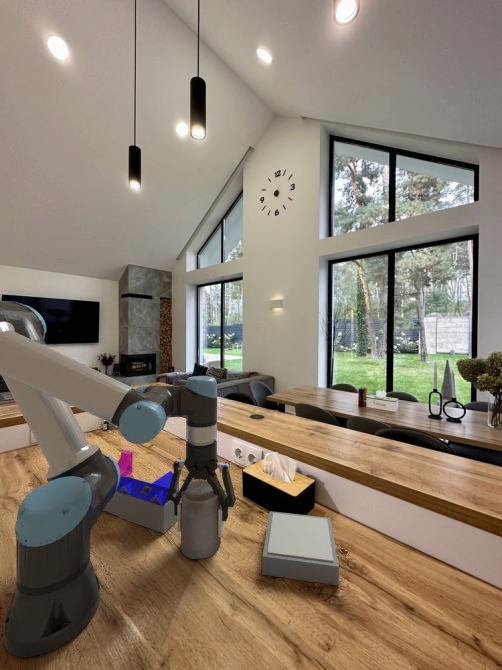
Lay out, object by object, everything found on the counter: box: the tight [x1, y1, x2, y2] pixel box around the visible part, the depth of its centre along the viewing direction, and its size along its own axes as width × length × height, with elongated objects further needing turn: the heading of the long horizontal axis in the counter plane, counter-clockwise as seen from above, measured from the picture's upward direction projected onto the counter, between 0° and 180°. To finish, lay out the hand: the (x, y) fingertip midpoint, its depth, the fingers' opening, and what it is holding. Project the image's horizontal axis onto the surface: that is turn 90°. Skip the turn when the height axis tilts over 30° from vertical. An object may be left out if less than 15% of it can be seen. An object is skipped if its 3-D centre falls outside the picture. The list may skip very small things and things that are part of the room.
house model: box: [103, 470, 180, 534], centre depth 88 cm, size 25×15×10 cm, turn 66°
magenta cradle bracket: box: [116, 450, 134, 477], centre depth 102 cm, size 15×6×8 cm, turn 151°
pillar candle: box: [180, 479, 222, 560], centre depth 72 cm, size 10×10×15 cm
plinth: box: [261, 511, 340, 586], centre depth 70 cm, size 16×16×4 cm
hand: (201, 530), depth 72 cm, fingers closed on pillar candle, 10 cm apart
